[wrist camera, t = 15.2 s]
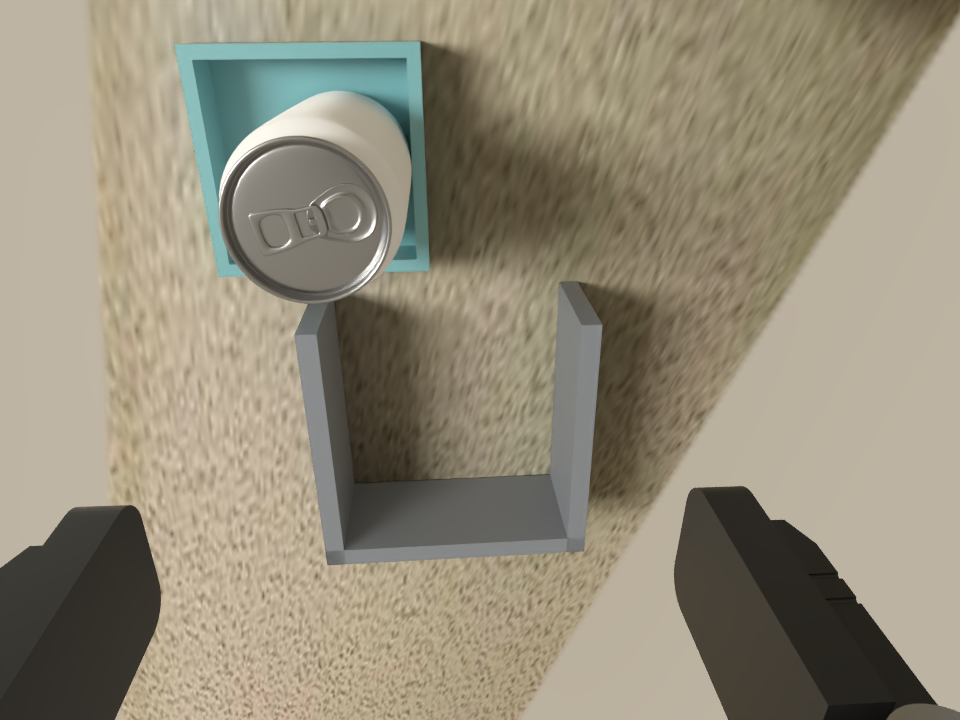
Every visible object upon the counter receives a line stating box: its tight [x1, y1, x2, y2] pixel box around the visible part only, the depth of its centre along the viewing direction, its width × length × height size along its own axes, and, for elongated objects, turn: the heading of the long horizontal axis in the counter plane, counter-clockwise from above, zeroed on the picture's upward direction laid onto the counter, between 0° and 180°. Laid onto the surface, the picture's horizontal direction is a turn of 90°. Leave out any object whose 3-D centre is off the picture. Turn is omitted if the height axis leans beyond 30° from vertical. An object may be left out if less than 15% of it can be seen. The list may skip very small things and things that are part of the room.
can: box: [218, 91, 412, 304], centre depth 27 cm, size 6×6×12 cm
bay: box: [294, 282, 603, 565], centre depth 37 cm, size 14×14×6 cm
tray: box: [174, 41, 430, 277], centre depth 32 cm, size 10×10×3 cm
